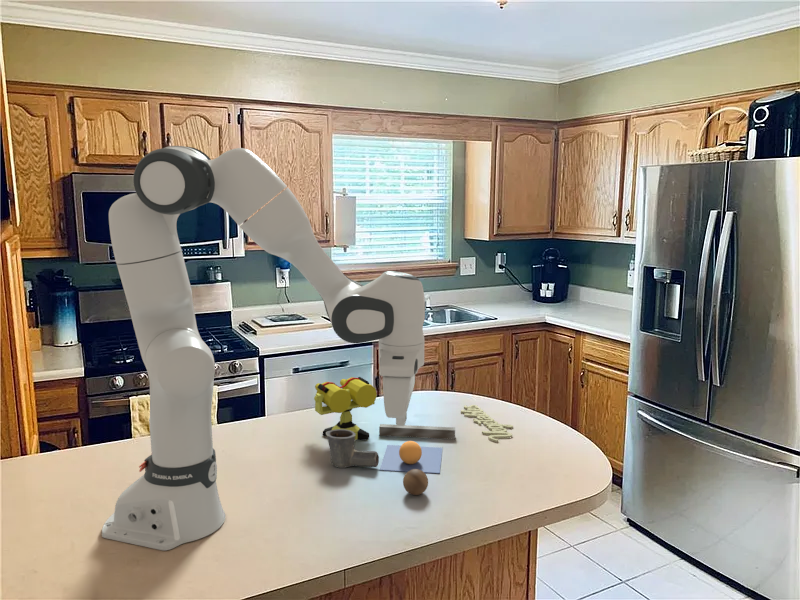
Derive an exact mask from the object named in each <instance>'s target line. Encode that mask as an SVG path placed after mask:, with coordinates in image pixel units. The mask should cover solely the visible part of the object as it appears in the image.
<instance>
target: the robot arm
mask: <svg viewBox="0 0 800 600" xmlns="http://www.w3.org/2000/svg"><path fill="white" fill-rule="evenodd" d="M132 182H133V187H134V188H133V189H134V191H135V192H134V193H129V194H127V195H124V196H121V197H119V198H118V199H117V200H115V201H114V202H113V203H112V204H111V206H110V207H109V210H108V225H109V235H110V240H111V241H110V242H111V246H112V247H111V248H112V251H113V252H112V253H113V256H114V259H115V260H114V261H115V263H116V267H117V270H118V274H119V278H120V280H121V284H122V288H123V290H124V291H123V292H124V294H125V299H126V302H127V305H128V309H129V313H130V317H131V321H132V325H133V330H134V333H135V337H136V340H137V346H138V349H139V351H140V356H141V359H142V362H143V365H144V366H145V369H146V371H147V374H148V381H149V418H148V422H149V435H150V437H149V438H150V447H151V448H150V450H151V454H150V455H148V456H147V457H146V458H145V459H144V461H143V462H142V463H141V464H140V465H139V466H138V468H139V471H138V472H139V473H140V472H142V471H144V474H142V476H140V477H139V478H138V479H136V480H135V481H134V482H133V483H132V484H129V486H128V487H127V488H126V489H124V491H122V492H121V494H120V496H119V497H118V498H117V500H116V503H115V506H114V512H113V513H112V514H111V515H110V516H109V517H108V518H107V519H106V520H105V522H104V524H103V526H102V528H101V537H102V538H104V539H108V540H112V541H118V542H123V543H127V544H132V545H136V546H141V547H146V548H149V549H153V550H158V551H169V550H172V549H174V548H177V547H179V546H180V545H182V544H185V543H190V542H195V541H197V540H201V539H202V538H205V537H207V536H209V535H211V534H212V533H215V532H216V531H218V529H220V528H221V527H222V525H223V524H224V522H225V520H226V513H225V511H224V507H223V506H222V505H223V504H222V503H221V499H220V496H219V495H220V494H219V491H218V485H217V478H218V477H217V476H218V475H217V474H218V473H217V472H218V465H217V456H216V450H215V449H214V446H213V443H214V441H213V428H212V427H213V425H212V405H213V398H214V397H213V396H214V387H215V386H214V383H215V382H214V381H215V380H214V379H215V373H216V364H215V357H214V355H213V354H214V353H213V352H212V350H211V348H210V347H209V346H208V345H207V344H206V342H205V341H204V340H203V339H202V337H201V335H200V332H199V330H198V326H197V319H196V313H195V308H194V307H195V306H194V300H193V290H192V286H191V283H190V279H189V274H188V270H187V265H186V262H185V258H184V254H183V250H182V247H181V244H180V243H181V242H180V239H179V235H178V230H177V221H178V218H179V216H180V215H182V214H184V213H188V212H189V211H192V210H195V209H197V208H199V207H201V206H204V205H206V204H209V203H210V204H211V203H213V204H214V205H218V206H219V207H220V208H222V209H223V210H224V211H225V212H226V213H227V214H228V215H229V216H230V218H232V220H234V222H235V223H236V225H238V226H239V228H240V229H241V230H242V231H243V232H244V233H245V235H246V236H247V237H249V239H250V240H251V241H253V242H254V243H255V244H256V245H258V246H259V247H260V248H261V249H262V250H264V252H266V253H268V254H270V255H273V256H276V257H279V258H281V259H283V260H285V261H286V262H289V263H290V264H291V265H292V266H294V268H296V269H297V270H298V271H299V272H300V274H301V275H302V276H303V277H304V278H305V279H306V281H308V283H309V284H310V285H311V286H312V287H313V289H315V291H316V292H317V293H318V294H319V296H320V298H321V299H322V301H323V303H324V308H325V312H326V315H327V317H328V319H329V320H330V324H331V326H332V329H333V331H334V333H335V334H336V335H337V336H338V338H340V340H341V339H342V340H343V341H344V342H347V343H350V344H361V343H362V344H363V343H368V342H372V341H373V342H374V341H376V340H378V364H379V367H378V368H379V369H378V372H379V373H378V374H379V376H380V377H382V392H383V405H384V407H383V408H384V412H385V413H384V414H385V416H386V417H387V418H388V419H389V418H390V419H395V425H398V426H404V425H406V422H407V418H408V417H407V416H408V415H407V411H408V408H409V406H410V402H411V399H412V395H413V391H414V387H415V384H416V383H415V382H416V375H417V374H418V372H419V369H420V368H422V367H423V366H424V365H425V345H426V344H425V343H426V342H425V339H426V338H425V335H424V330H423V329H424V328H423V327H424V324H425V318H426V314H425V313H426V307H425V305H426V303H425V293H424V286H423V283H422V281H421V280H420V279H419V278H417V277H416V276H415V275H413V274H411V273H406V272H402V271H398V270H397V271H396V270H394V271H393V270H387V271H384V272H382V273H381V275H379V276H378V277H377V278H375V279H373V280H372V281H370V282H368V283H366V284H364V285H363V284H362V283H360V282H359V281H356V280H353V279H351V278H349V277H348V276H347V275H346V274H345V273H344V272H343V271H342V270H341V269H340V268H339V267H338V266H337V264H336V263H335V262H334V261H333V260H332V258H331V257H330V256H329V255H328V254H327V253H326V251H324V249H323V248H322V247H321V245H320V243H319V241H318V240H317V238H316V236H315V233H314V231H313V228H312V224H311V222H310V218H309V217H308V214H307V213H306V212H305V209H304V208H303V206H302V205H301V203H300V202H299V200H298V199H297V197H296V195H295V194H294V193H293V191H292V190H291V189H290V188H289V187H288V185H287V184H286V183H285V182H284V181H283V180H282V178H281V177H280V176H278V174H277V173H276V172H275V171H274V170H273V169H272V168H271V167H270V166H269V165H268V164H267V163H266V162H264V161H263V160H262V159H261V158H260V157H259V156H257V155H256V154H255V153H254V152H252V151H251V150H249V149H247V148H243V147H236V148H233V149H229V150H227V151H225V152H223V153H221V154H220V155H219V156H217V157H216V158H213V159H211V157H209V156H208V155H207V154H206V153H205V152H203V151H202V150H200V149H198V148H195V147H191V146H184V145H170V146H166V147H162V148H157V149H154V150H151V151H150V152H148V153H146V154H145V155H144V156H143V157H142V158H141V159H140V160H139V161H138V163H137V165H136V167H135V169H134V172H133V181H132Z"/></svg>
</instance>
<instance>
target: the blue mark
mask: <svg viewBox="0 0 800 600" xmlns="http://www.w3.org/2000/svg"><path fill="white" fill-rule="evenodd" d="M400 447H401V445H398V444H397V445H395V444H387V446H386V448H385V451H384V454H383V458H382V461H381V464H380V467H379V471H381V470H384V472H399V471H400V472H401V473H403V472H404V473H407V472H408V471H410V470H412V469H419V470H421V471H423V472H424V473H425V474H435V473H436V474H437V475H439V474H440V473H441V465H442V457H443V456H442V455H443V447H438V446H437V447H436V446H435V447H434V446H420V447H421V450H422V455H421V458H420V460H419V461H418V462H416V463H414V464H407V463H405V462H403V461H402V460H401V458H400V455H399V450H400Z"/></svg>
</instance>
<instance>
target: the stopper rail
mask: <svg viewBox="0 0 800 600" xmlns="http://www.w3.org/2000/svg"><path fill="white" fill-rule="evenodd" d="M378 428H379V429H378V430H379V433H378V434H379V435H378V436H379V437H394V438H395V437H396V438H399V437H400V438H415V439H416V438H418V439H419V438H420V439H437V440H456V427H450V426H434V425H433V426H431V425H430V426H428V425H411V424H405V425H404V426H398V425H396V424H389V423H388V424H387V423H380V424H379V427H378Z"/></svg>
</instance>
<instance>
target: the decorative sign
mask: <svg viewBox="0 0 800 600" xmlns="http://www.w3.org/2000/svg"><path fill="white" fill-rule="evenodd" d="M460 414H463V415H464V416H463V417H466V418H472V420H473V423H475V424H477V425H478V426H484V425H485V428H487V429H488V430H481V435H484V436H485V435H486V436H487V439H488V440H489V441H490V440H491V442H494V443H499V439H510V437H511V438H513V434H512V433H511V432H509V431H508V429H506V428H512V429H514V425H512V424H504V423H499V421H497V420H495V418H493V417H491V416H490V415H489V414H487V412H486V411H484V410H483V409H482V408H481V407H479V406H478V405H477V404H471V405H466V404H465V405H463V409H461V410H460ZM482 424H483V425H482ZM496 438H497V439H496Z"/></svg>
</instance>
